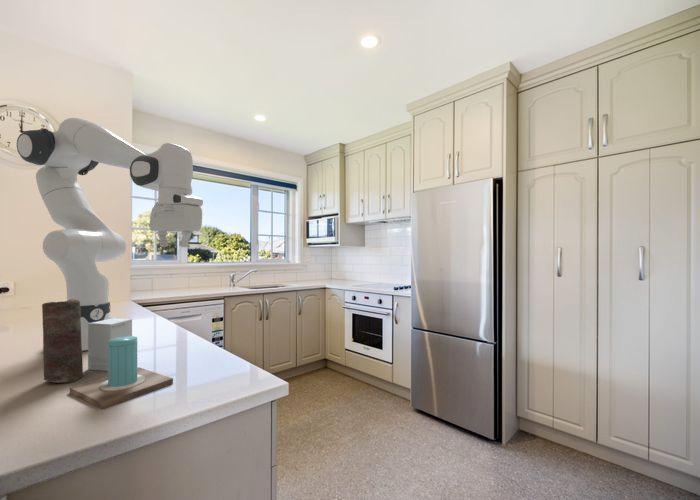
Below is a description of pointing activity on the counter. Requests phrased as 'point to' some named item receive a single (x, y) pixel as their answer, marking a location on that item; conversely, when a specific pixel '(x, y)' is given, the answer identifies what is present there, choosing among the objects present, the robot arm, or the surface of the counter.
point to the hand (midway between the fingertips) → (173, 246)
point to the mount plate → (119, 388)
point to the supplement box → (104, 340)
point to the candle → (62, 341)
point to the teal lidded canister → (122, 361)
